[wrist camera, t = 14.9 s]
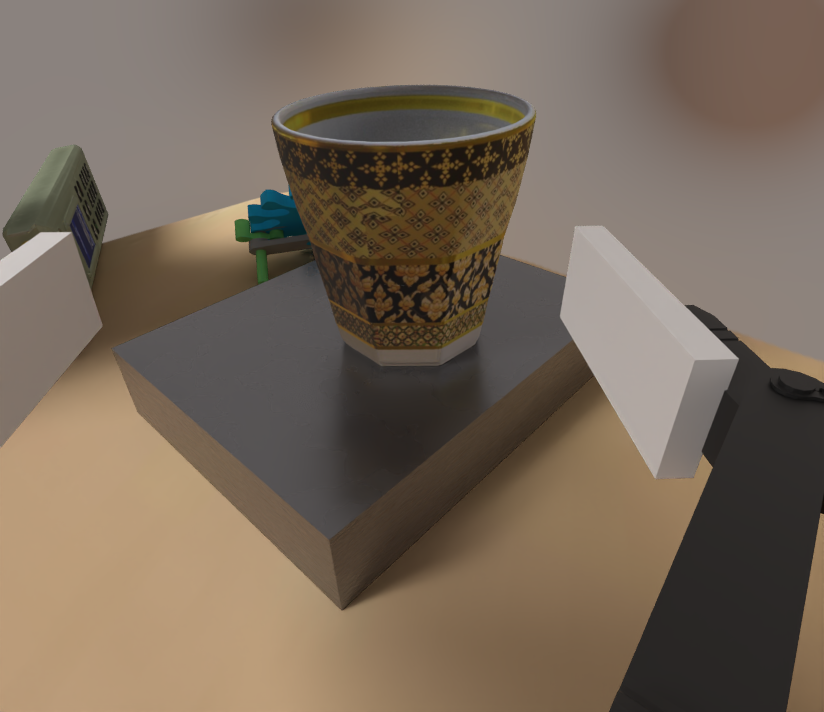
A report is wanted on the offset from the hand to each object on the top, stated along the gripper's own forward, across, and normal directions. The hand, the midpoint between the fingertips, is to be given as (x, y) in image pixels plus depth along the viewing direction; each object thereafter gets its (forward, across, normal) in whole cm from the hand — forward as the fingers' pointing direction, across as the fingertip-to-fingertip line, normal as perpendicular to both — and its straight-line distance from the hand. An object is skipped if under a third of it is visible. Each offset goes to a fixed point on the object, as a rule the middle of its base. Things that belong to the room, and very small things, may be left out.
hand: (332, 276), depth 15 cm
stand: (+11, +1, -11) cm, 15 cm away
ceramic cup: (+11, +2, -7) cm, 13 cm away
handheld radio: (+26, -21, -12) cm, 35 cm away
